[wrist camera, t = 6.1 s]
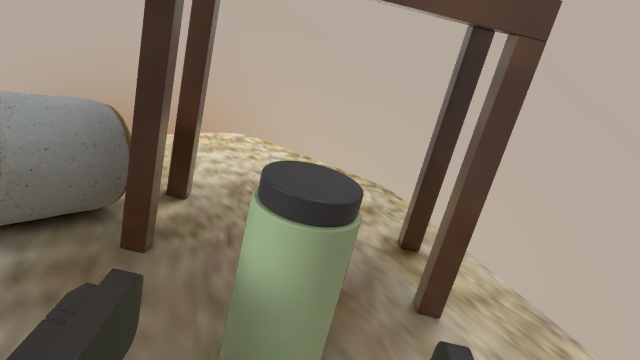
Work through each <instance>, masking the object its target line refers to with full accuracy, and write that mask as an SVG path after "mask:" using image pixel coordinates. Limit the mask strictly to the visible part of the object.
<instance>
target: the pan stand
mask: <svg viewBox="0 0 640 360" xmlns="http://www.w3.org/2000/svg"><path fill="white" fill-rule="evenodd" d="M371 1H375V2H379V3H383V4H387V5H391V6H395V7H399V8H403V9H407V10H411V11H415V12H419V13H423V14H427V15H431V16H435V17H439V18H443V19H446V20H450V21H454V22H458V23H462V24H467V25H469V26H468V28H467V31H466V34H465V37H464V40H463V43H462V46H461V49H460V52H459V55H458V58H457V61H456V64H455V68H454V70H453V74H452V77H451V80H450V83H449V86H448V89H447V92H446V95H445V98H444V101H443V104H442V107H441V110H440V113H439V116H438V119H437V123H436V125H435V129H434V132H433V135H432V138H431V141H430V144H429V147H428V150H427V153H426V156H425V159H424V162H423V166H422V168H421V171H420V174H419V178H418V181H417V183H416V187H415V190H414V193H413V196H412V199H411V202H410V205H409V208H408V211H407V214H406V217H405V220H404V223H403V226H402V229H401V232H400V235H399V238H398V239H399V243H400V247H401V248H404V249H409V250H413V251H418V252H419V249H420V246H421V243H422V241H423V238H424V235H425V232H426V229H427V226H428V223H429V220H430V217H431V215H432V212H433V209H434V206H435V203H436V200H437V197H438V194H439V192H440V189H441V186H442V183H443V180H444V177H445V174H446V171H447V169H448V165H449V163H450V160H451V157H452V154H453V151H454V149H455V146H456V143H457V140H458V137H459V134H460V131H461V128H462V125H463V122H464V120H465V117H466V114H467V111H468V108H469V105H470V102H471V100H472V97H473V94H474V91H475V88H476V85H477V82H478V79H479V76H480V74H481V71H482V68H483V65H484V62H485V59H486V56H487V53H488V51H489V48H490V45H491V42H492V39H493V36H494V33H495V32H500V33H505V34H508V37H507V40H506V43H505V46H504V48H503V51H502V54H501V57H500V60H499V63H498V65H497V68H496V71H495V74H494V76H493V79H492V82H491V85H490V88H489V90H488V93H487V96H486V99H485V102H484V105H483V107H482V110H481V113H480V116H479V118H478V121H477V124H476V127H475V130H474V132H473V135H472V138H471V141H470V143H469V146H468V149H467V152H466V155H465V157H464V161H463V163H462V166H461V169H460V171H459V174H458V177H457V180H456V183H455V186H454V189H453V191H452V194H451V197H450V200H449V202H448V205H447V208H446V211H445V214H444V216H443V219H442V222H441V225H440V227H439V230H438V233H437V236H436V239H435V241H434V244H433V247H432V250H431V253H430V255H429V258H428V261H427V264H426V267H425V269H424V272H423V275H422V278H421V281H420V283H419V286H418V289H417V292H416V295H415V297H414V302H415V306H416V310H417V313H419V314H423V315H428V316H432V317H437V318H440V317H441V314H442V312H443V309H444V306H445V304H446V301H447V299H448V296H449V294H450V291H451V288H452V286H453V283H454V281H455V278H456V275H457V273H458V270H459V268H460V265H461V262H462V260H463V257H464V255H465V252H466V249H467V246H468V244H469V242H470V239H471V237H472V234H473V231H474V229H475V226H476V224H477V221H478V218H479V216H480V213H481V211H482V208H483V205H484V202H485V200H486V198H487V195H488V192H489V190H490V187H491V185H492V182H493V180H494V177H495V174H496V172H497V169H498V166H499V164H500V161H501V159H502V156H503V154H504V151H505V148H506V146H507V143H508V141H509V138H510V135H511V133H512V130H513V127H514V125H515V122H516V120H517V117H518V115H519V112H520V110H521V107H522V104H523V102H524V99H525V97H526V94H527V91H528V89H529V86H530V84H531V81H532V79H533V76H534V73H535V71H536V68H537V65H538V63H539V60H540V58H541V55H542V53H543V50H544V47H545V45H546V41H547V40H548V37H549V35H550V32H551V29H552V27H553V24H554V22H555V19H556V16H557V14H558V11H559V9H560V6H561V3H562V1H561V0H371ZM183 4H184V0H145V9H144V18H143V29H142V38H141V48H140V57H139V67H138V78H137V88H136V97H135V106H134V117H133V126H132V135H131V145H130V155H129V165H128V174H127V184H126V194H125V203H124V213H123V223H122V233H121V242H120V248H125V249H129V250H134V251H138V252H143V253H144V252H145V251H146V250H147V249H148V247H149V246H150V245H151V243H152V242H153V237H154V229H155V222H156V214H157V206H158V198H159V190H160V183H161V175H162V167H163V159H164V152H165V144H166V136H167V128H168V121H169V113H170V105H171V97H172V89H173V82H174V73H175V66H176V58H177V51H178V43H179V35H180V27H181V20H182V12H183ZM219 5H220V0H192V7H191V15H190V22H189V29H188V38H187V44H186V52H185V60H184V67H183V74H182V81H181V89H180V96H179V104H178V111H177V119H176V126H175V133H174V141H173V148H172V156H171V163H170V171H169V178H168V185H167V193H166V194H167V195H171V196H175V197H180V198H184V199H186V197H187V196H188V195H189V193H190V192H191V187H192V181H193V174H194V168H195V161H196V155H197V148H198V142H199V135H200V129H201V122H202V116H203V109H204V103H205V96H206V90H207V83H208V77H209V70H210V64H211V57H212V50H213V44H214V38H215V31H216V24H217V18H218V12H219ZM494 31H495V32H494Z"/></svg>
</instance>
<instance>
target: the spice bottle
mask: <svg viewBox="0 0 640 360" xmlns="http://www.w3.org/2000/svg"><path fill="white" fill-rule="evenodd" d="M362 198H363V190H362V188H361V187H360V185H359V184H358V183H357V182H355V181H354V180H353V179H351V178H350V177H348V176H346V175H344V174H342V173H340V172H338V171H336V170H333V169H330V168H327V167H324V166H321V165H317V164H312V163H307V162H300V161H277V162H273V163H270V164H268V165H266V166H265V167H264V168H263V170H262V174H261V179H260V184H259V186H258V187H257V188H255V190H254V191H253V193H252V197H251V202H250V207H249V212H248V217H247V222H246V227H245V232H244V236H243V241H242V246H241V251H240V256H239V261H238V266H237V271H236V276H235V281H234V286H233V291H232V296H231V301H230V306H229V311H228V316H227V321H226V326H225V331H224V336H223V341H222V346H221V351H220V356H219V360H321V356H322V353H323V350H324V346H325V343H326V339H327V336H328V333H329V329H330V326H331V322H332V319H333V316H334V312H335V309H336V305H337V302H338V298H339V295H340V292H341V288H342V285H343V281H344V278H345V275H346V271H347V268H348V264H349V261H350V258H351V254H352V251H353V247H354V244H355V240H356V237H357V234H358V230H359V227H360V223H361V214H360V211H359V208H360V205H361V201H362Z"/></svg>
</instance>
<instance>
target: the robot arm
mask: <svg viewBox="0 0 640 360" xmlns="http://www.w3.org/2000/svg"><path fill="white" fill-rule="evenodd" d="M142 287H143V275H141V274H137V273H132V272H128V271H123V270H119V269H112V270H111V271H110V272H109V273H108V274H107V276H106V277H105V278H104V279H103V280H102V282H101V283H100V284H99V285H94V284H89V283H86V284H84V285H82V286H80V287H78V288H76V289H74V290H72V291H70V292H68V293H67V294H66V295H65V296H64V297H63V299H62V300H61V301H60V302H59V303H58V304H57V305H56V307H55V309H52V310H51V312H50V313H49V314H48V315H47V316H46V317H45V320H42V321H41V322H40V323H39V325H38V326H37V327H36V328H35V329H34V330H33V331H32V332H31V333H30V334H29V335H28V336H27V338H26V339H25V340H24V341H23V342H22V343H21V344H20V345H19V346H18V347H17V348H16V350H15V351H14V352H13V353H12V354H11V355H10V356H9V357H8V358H7V359H6V360H122V359H123V358H124V356H125V354H126V353H127V351H128V349H129V348H130V346H131V344H132V341H133V339H134V336H135V333H136V330H137V326H138V320H139V312H140V304H141V296H142ZM431 360H474V359H473V356H472V353H471V351H470V349H469V348H468V347H465V346H460V345H456V344H451V343H447V342H442V341H440V342H439V343H438V344H437V346H436V348H435V350H434V353H433V355H432V358H431Z"/></svg>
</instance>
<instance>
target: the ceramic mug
mask: <svg viewBox="0 0 640 360" xmlns="http://www.w3.org/2000/svg"><path fill="white" fill-rule="evenodd" d="M130 145H131V135H130V132H129V130H128V128H127V126H126V123H125V121H124V119H123V118H122V117H121V115H120V114H119V113H118V112H117V111H116V110H115V109H114V108H113V107H111V106H109V105H107V104H104V103H101V102H98V101H94V100H90V99H86V98H76V97H61V96H47V95H38V94H25V93H13V92H3V91H0V226H2V225H7V224H13V223H19V222H25V221H31V220H37V219H43V218H48V217H53V216H58V215H63V214H70V213H76V212H83V211H89V210H95V209H98V208H101V207H104V206H107V205H110V204H112V203H114V202H116V201H117V200H119V199H120V198H121V197H122V196H123V195H124V193H125V191H126V184H127V174H128V165H129V155H130Z"/></svg>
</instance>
